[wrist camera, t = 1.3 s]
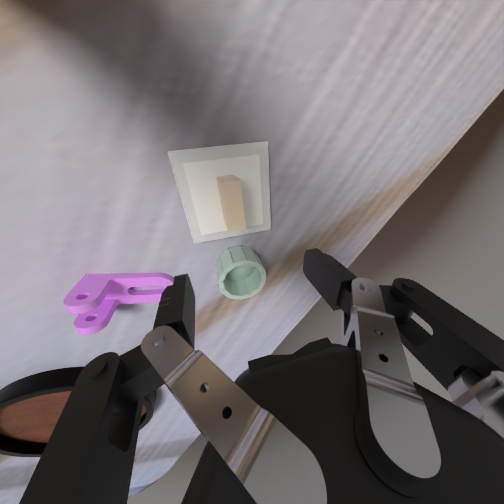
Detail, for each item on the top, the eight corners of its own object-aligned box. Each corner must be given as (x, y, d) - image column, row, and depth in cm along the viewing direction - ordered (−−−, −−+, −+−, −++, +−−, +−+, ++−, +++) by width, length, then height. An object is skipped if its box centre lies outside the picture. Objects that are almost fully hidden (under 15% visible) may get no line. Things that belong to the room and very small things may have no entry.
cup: (212, 250, 31) (214, 267, 27) (256, 242, 33) (264, 256, 28) (220, 285, 35) (223, 303, 31) (259, 276, 37) (266, 292, 33)
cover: (183, 163, 23) (179, 167, 18) (258, 154, 25) (272, 156, 20) (201, 233, 28) (201, 251, 23) (262, 222, 30) (273, 236, 25)
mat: (168, 150, 23) (166, 151, 22) (265, 141, 25) (268, 140, 24) (194, 241, 29) (194, 243, 29) (269, 227, 32) (270, 229, 31)
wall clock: (-53, 393, 28) (164, 381, 40) (-26, 367, 31) (167, 363, 44) (-16, 469, 40) (143, 442, 52) (1, 444, 43) (146, 424, 56)
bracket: (95, 300, 31) (71, 336, 25) (85, 274, 28) (56, 307, 22) (177, 295, 34) (173, 325, 28) (175, 271, 32) (170, 299, 26)
